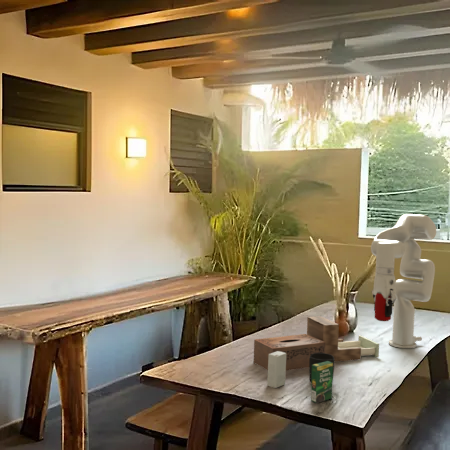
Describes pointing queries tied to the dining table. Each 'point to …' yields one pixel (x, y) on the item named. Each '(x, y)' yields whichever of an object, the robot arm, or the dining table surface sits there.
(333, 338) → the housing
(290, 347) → the tissue box cover
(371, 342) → the tray
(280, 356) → the skincare box
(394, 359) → the dining table surface
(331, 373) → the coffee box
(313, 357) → the pen holder
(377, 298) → the beverage can
